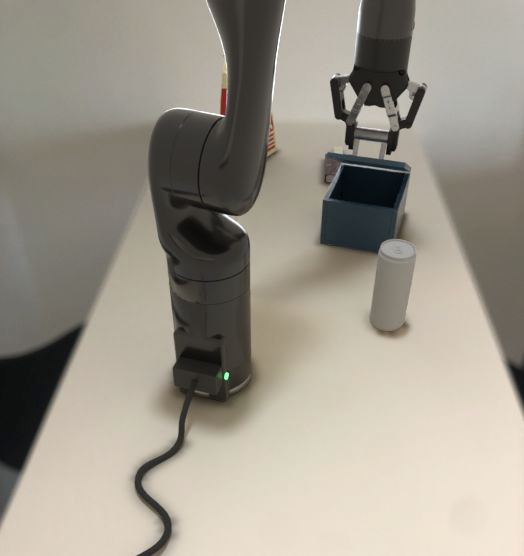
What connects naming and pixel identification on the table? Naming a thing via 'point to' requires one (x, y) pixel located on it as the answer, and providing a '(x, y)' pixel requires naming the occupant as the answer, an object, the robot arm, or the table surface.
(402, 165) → the lid
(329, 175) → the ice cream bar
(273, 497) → the table surface
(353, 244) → the blue open box
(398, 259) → the beverage can
